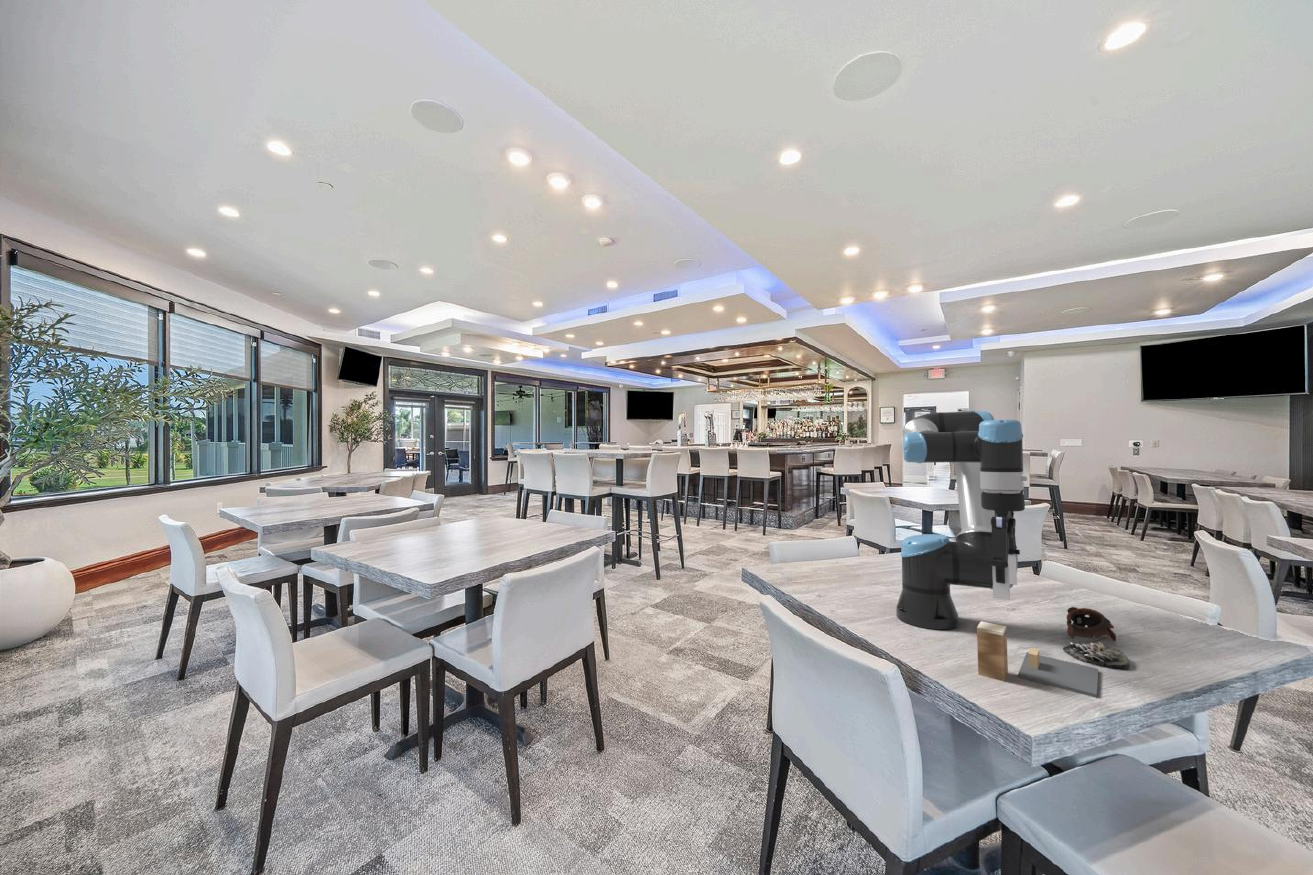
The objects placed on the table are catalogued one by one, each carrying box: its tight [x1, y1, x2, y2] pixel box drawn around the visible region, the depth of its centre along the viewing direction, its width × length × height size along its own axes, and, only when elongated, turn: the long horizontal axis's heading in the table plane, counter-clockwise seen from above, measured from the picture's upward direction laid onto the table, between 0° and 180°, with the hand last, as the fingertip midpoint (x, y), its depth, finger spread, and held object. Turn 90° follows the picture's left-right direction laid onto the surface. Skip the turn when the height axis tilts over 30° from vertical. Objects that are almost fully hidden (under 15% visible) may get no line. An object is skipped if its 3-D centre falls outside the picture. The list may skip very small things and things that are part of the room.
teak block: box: [976, 620, 1009, 682], centre depth 99 cm, size 4×4×10 cm
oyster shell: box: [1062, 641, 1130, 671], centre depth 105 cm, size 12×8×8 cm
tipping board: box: [1017, 647, 1099, 698], centre depth 98 cm, size 12×14×4 cm
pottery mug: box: [1066, 606, 1117, 642], centre depth 117 cm, size 12×10×8 cm
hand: (1005, 590), depth 99 cm, fingers open, 13 cm apart
